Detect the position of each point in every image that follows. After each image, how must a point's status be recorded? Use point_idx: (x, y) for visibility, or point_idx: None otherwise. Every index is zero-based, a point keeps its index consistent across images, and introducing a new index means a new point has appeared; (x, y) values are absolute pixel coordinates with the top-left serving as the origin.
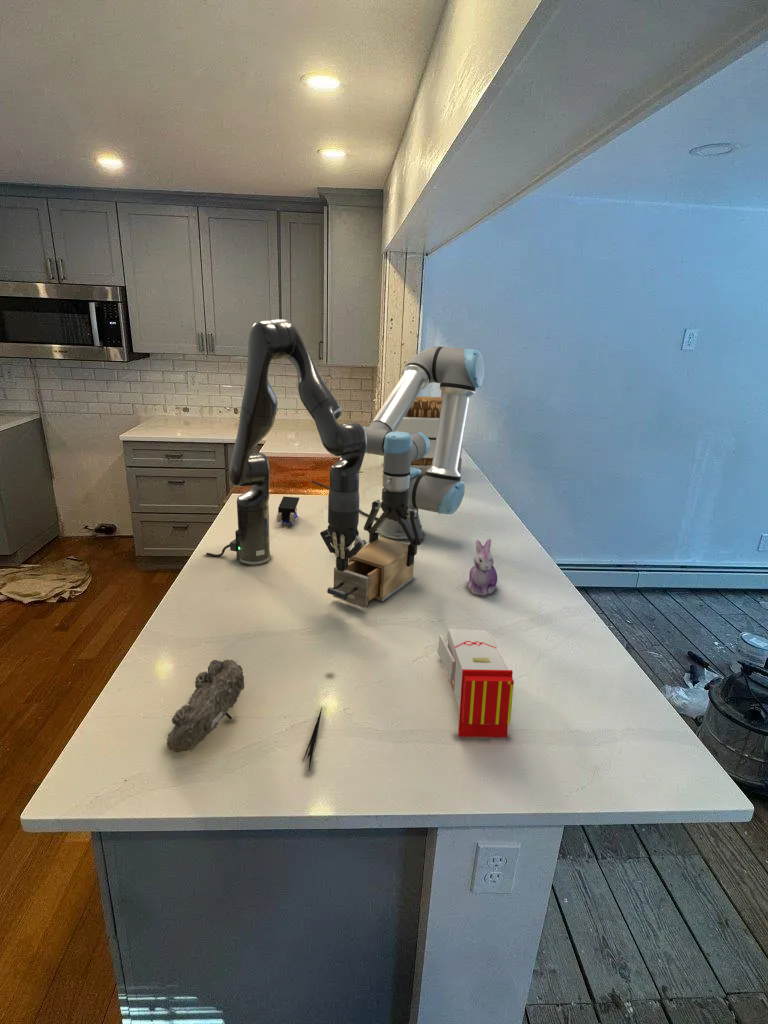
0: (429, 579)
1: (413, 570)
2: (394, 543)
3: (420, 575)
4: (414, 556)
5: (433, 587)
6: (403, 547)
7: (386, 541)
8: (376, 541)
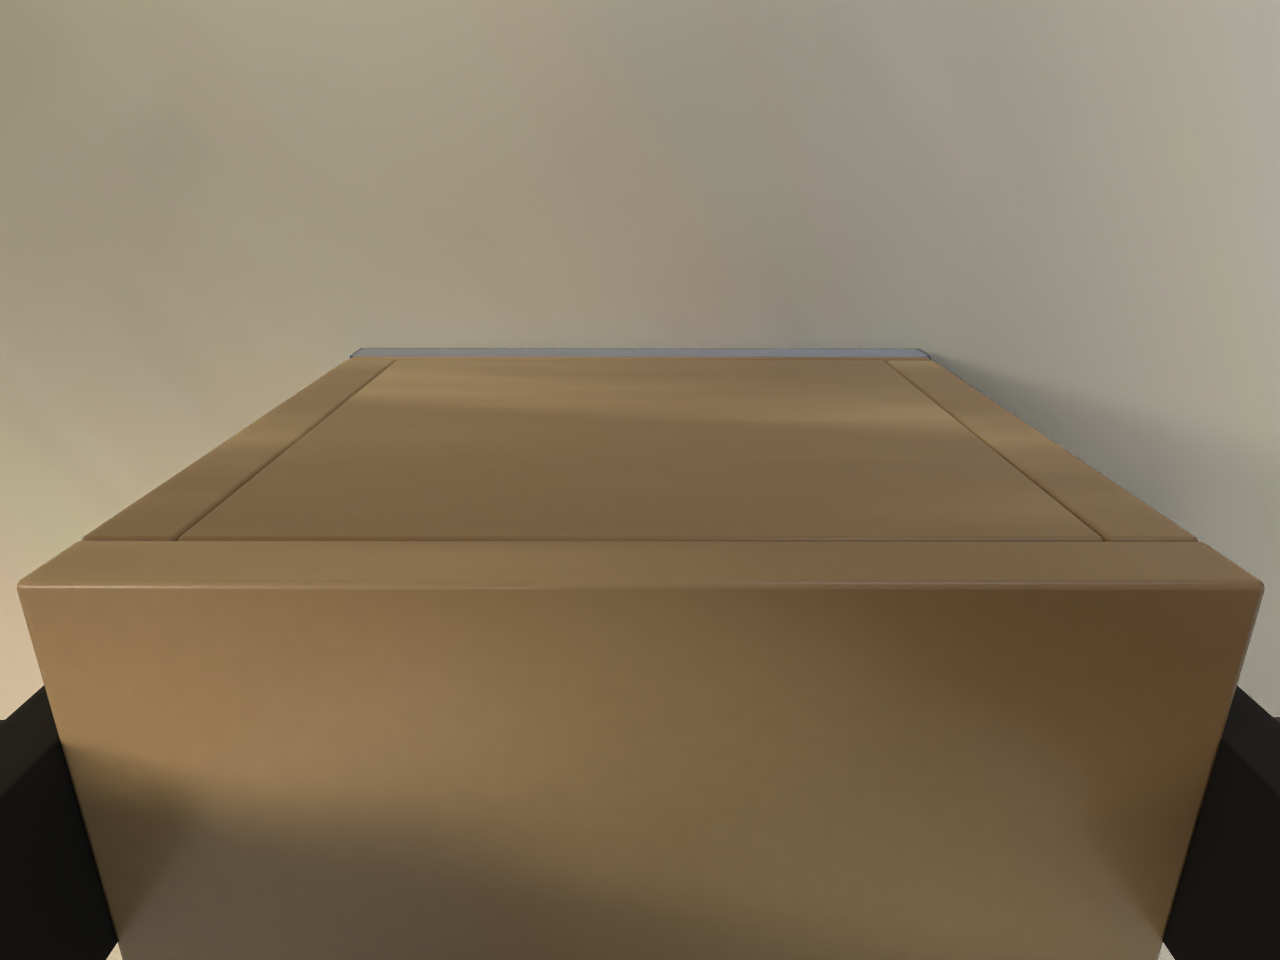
0: (1140, 207)
1: (967, 385)
2: (632, 755)
3: (970, 167)
4: (1094, 472)
5: (1258, 397)
6: (976, 830)
7: (372, 773)
8: (179, 914)
